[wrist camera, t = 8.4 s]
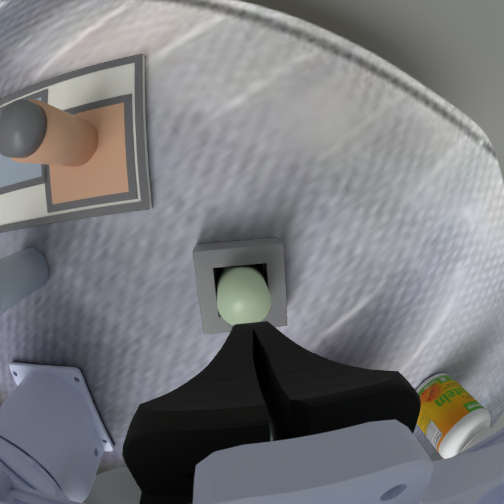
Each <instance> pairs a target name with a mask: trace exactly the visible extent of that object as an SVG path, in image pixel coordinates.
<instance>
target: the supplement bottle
mask: <svg viewBox="0 0 504 504" xmlns="http://www.w3.org/2000/svg"><path fill="white" fill-rule="evenodd" d="M416 392H417V393H418V395H419V396H420V401H421V408H420V414H419V417H418V420H417V424H418V426H419V427H420V428H421V430H422V431H423V432H424V434H425V435H426V436H427V438H428V439H429V440H430V442H431V443H432V444H433V446H434V447H435V448H436V450H437V451H438V452H439V454H440V455H441V456H442V457H443V458H444V459H447V458H451V457H453V456H455V455H457V454H459V453H461V452H463V451H465V450H466V449H468V448H470V447H472V446H474V445H475V444H477V443H479V442H481V441H482V440H484V439H486V438H488V437H489V436H491V435H492V434H494V433H496V431H494V430H493V429H492V428H489V426H490V415H489V413H488V412H487V411H486V409H485V408H484V407H483V406H481V405H480V404H479V403H478V402H477V401H476V400H475V399H474V398H473V397H472V396H471V395H470V394H469V393H468V392H467V391H466V390H465V389H464V388H463V387H462V386H461V385H459V384H458V383H457V382H456V381H455V380H454V379H453V378H452V377H451V376H450V375H448V374H445V373H439V374H436V375H434V376H432V377H430V378H428V379H427V380H425V381H424V382H423V383H422V384H421V385H420V386H419V387H418V388H417V389H416Z"/></svg>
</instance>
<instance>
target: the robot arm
mask: <svg viewBox="0 0 504 504" xmlns="http://www.w3.org/2000/svg"><path fill="white" fill-rule="evenodd" d="M9 368H10V370H11V373H12V375H13V377H14V379H15V382H16V384H17V387H16V388H15V390H14V391H13V392H12V393H11V394H10V396H9V397H8V398H7V399H6V400H5V402H4V403H3V404H2V405H1V407H0V504H85V503H82V502H83V501H84V500H85V499H86V498H87V496H88V495H89V493H90V490H91V487H92V484H93V481H94V478H95V475H96V472H97V469H98V467H99V464H100V461H101V458H102V455H103V453H104V451H113V449H114V446H113V444H112V442H111V440H110V438H109V436H108V434H107V432H106V430H105V427H104V425H103V423H102V421H101V419H100V417H99V414H98V412H97V410H96V408H95V405H94V403H93V400H92V398H91V396H90V393H89V391H88V388H87V386H86V383H85V381H84V378H83V375H82V373H81V371H80V370H79V369H78V368H76V367H64V366H49V365H36V364H26V363H16V362H12V363H11V364H10V365H9ZM76 377H77V378H78V379H79V380H78V379H77V378H76ZM420 408H421V401H420V396H419V395H418V393H417V392H416V391H415V389H414V388H413V387H412V386H411V384H410V383H409V382H408V381H407V380H406V379H405V378H404V377H403V376H402V375H401V374H400V373H399V372H398V371H383V370H370V369H364V368H358V367H353V366H348V365H344V364H341V363H338V362H334V361H331V360H328V359H326V358H323V357H321V356H319V355H316V354H314V353H312V352H310V351H308V350H306V349H304V348H303V347H301V346H299V345H298V344H296V343H295V342H293V341H292V340H290V339H289V338H287V337H286V336H285V335H283V334H282V333H281V332H280V331H279V330H277V329H276V328H275V327H274V326H273V325H272V324H270V323H269V322H268V321H263V322H253V323H244V324H235V325H234V326H233V327H232V330H231V332H230V334H229V336H228V338H227V340H226V342H225V343H224V345H223V346H222V348H221V349H220V351H219V352H218V353H217V355H216V356H215V357H214V359H213V360H212V361H211V362H210V363H209V365H208V366H207V367H206V368H205V369H204V370H203V371H201V372H200V373H199V374H198V375H196V376H195V377H194V378H192V379H191V380H190V381H188V382H187V383H185V384H184V385H182V386H180V387H179V388H177V389H175V390H173V391H171V392H169V393H167V394H165V395H163V396H161V397H158V398H156V399H153V400H151V401H148V402H145V403H142V404H140V405H139V407H138V409H137V411H136V413H135V415H134V417H133V419H132V421H131V423H130V426H129V429H128V432H127V435H126V438H125V441H124V445H123V453H122V455H123V458H124V461H125V463H126V465H127V467H128V468H129V471H130V472H131V474H132V476H133V478H134V479H135V481H136V483H137V484H138V486H139V487H140V489H141V491H142V494H141V499H140V504H504V428H502V429H501V430H499V431H497V432H496V433H494V434H492V435H491V436H489V437H488V438H486V439H484V440H482V441H481V442H479V443H477V444H475V445H474V446H472V447H470V448H468V449H466V450H465V451H463V452H461V453H459V454H457V455H455V456H453V457H451V458H447V459H442V460H438V461H433V462H432V461H431V459H430V458H429V456H428V455H427V454H426V452H425V451H424V449H423V448H422V446H421V445H420V444H419V442H418V441H417V439H416V438H415V436H414V435H413V432H414V429H415V426H416V423H417V420H418V417H419V414H420ZM270 430H271V433H272V437H273V441H271V442H270Z"/></svg>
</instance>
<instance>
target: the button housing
mask: <svg viewBox="0 0 504 504" xmlns="http://www.w3.org/2000/svg"><path fill="white" fill-rule="evenodd" d="M193 258H194V266H195V274H196V282H197V290H198V297H199V304H200V311H201V318H202V325H203V331H204V334H211V333H222V332H231V330H232V327H233V326H234V325H231V324H229V323H228V322H226V321H225V320H224V319H223V318H222V317H221V315H220V313H219V311H218V308H217V282H216V273H215V268H219V267H229V266H240V265H251V264H261V263H263V275H264V280H265V283H266V285H267V287H268V290H269V292H270V295H271V307H270V310H269V313H268V314H267V316H266V317H265V318H264V319H263V320H262V321H261V322H263V321H268V322H269V323H270V324H272V325H273V326H274V327H280V326H287V305H286V282H285V261H284V244H283V243H282V242H281V241H280V240H279V239H278V238H277V237H271V238H260V239H249V240H238V241H227V242H216V243H206V244H196V246H195V248H194V250H193Z"/></svg>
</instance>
